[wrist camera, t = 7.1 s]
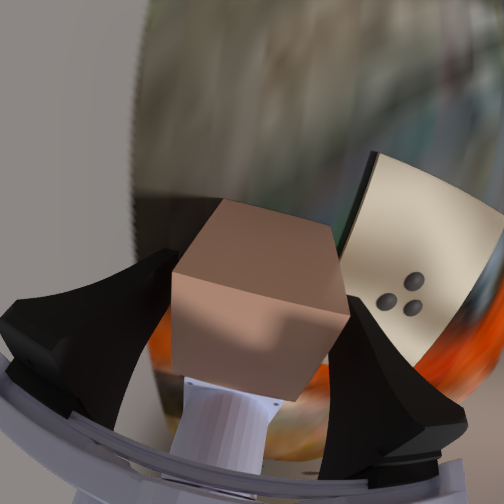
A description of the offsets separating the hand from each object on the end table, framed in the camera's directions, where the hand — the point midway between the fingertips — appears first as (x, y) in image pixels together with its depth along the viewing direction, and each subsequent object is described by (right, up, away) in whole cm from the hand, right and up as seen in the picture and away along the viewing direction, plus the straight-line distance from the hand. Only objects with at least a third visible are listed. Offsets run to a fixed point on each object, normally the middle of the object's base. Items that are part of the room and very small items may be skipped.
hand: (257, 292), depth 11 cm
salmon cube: (0, +1, +2) cm, 3 cm away
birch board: (+8, -1, +2) cm, 8 cm away
